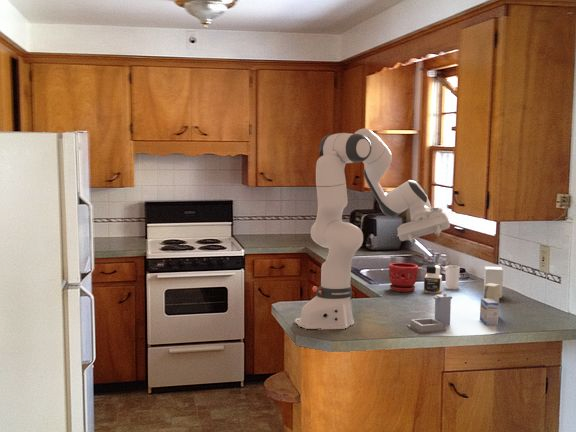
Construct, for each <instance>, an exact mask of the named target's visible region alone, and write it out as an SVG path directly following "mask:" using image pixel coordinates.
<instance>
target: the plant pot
mask: <svg viewBox="0 0 576 432" xmlns="http://www.w3.org/2000/svg"><path fill="white" fill-rule="evenodd" d="M388 273H389V274H388V277H389V281H390V283H391V284H390V285H389V288H390V289H391V290H392V291H394V292H399V293H401V292H402V293H410V292H413V291H414V290H415V289H416V286H415V284H416V282H417V279H418V273H419V266H418V265H417V264H415V263H407V262H393V263H389V267H388Z"/></svg>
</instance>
